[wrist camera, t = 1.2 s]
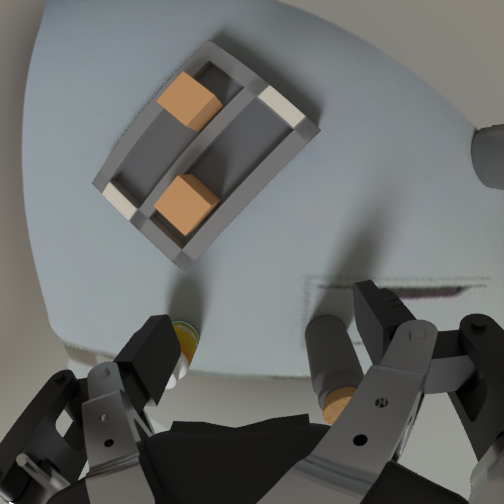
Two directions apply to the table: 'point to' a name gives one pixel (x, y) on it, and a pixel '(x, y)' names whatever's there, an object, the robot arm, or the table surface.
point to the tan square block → (190, 102)
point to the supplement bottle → (183, 350)
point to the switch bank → (204, 153)
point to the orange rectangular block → (186, 202)
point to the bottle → (332, 365)
